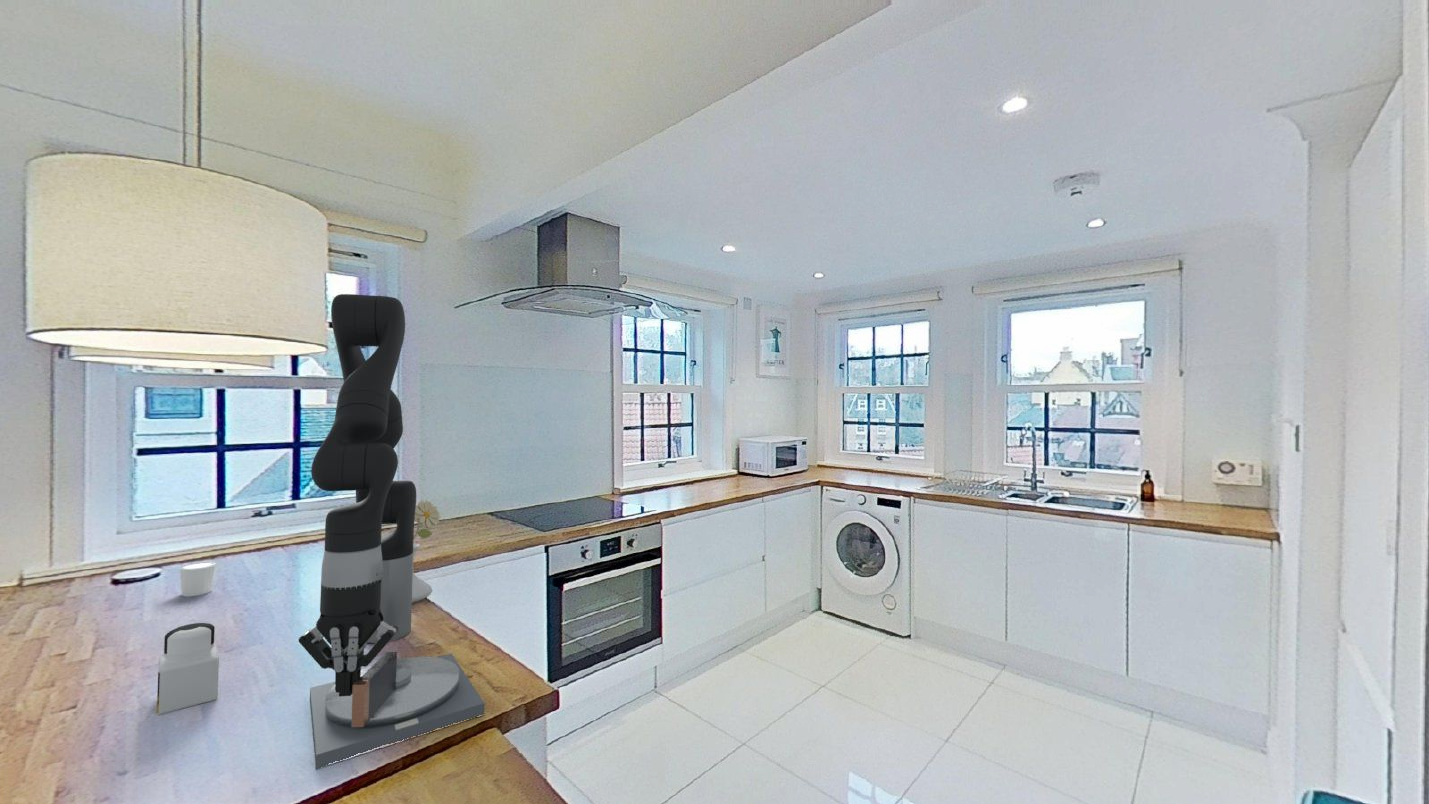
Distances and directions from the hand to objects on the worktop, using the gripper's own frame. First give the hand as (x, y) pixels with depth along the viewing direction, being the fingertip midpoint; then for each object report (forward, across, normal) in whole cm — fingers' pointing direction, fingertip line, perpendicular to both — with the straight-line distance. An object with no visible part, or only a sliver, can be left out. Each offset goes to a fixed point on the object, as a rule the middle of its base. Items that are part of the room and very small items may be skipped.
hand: (347, 693), depth 80 cm
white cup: (+9, -65, +74) cm, 99 cm away
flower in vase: (+8, -11, +62) cm, 63 cm away
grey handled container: (+8, -31, +17) cm, 36 cm away
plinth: (+7, +4, +8) cm, 12 cm away
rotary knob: (+5, +4, +7) cm, 9 cm away
